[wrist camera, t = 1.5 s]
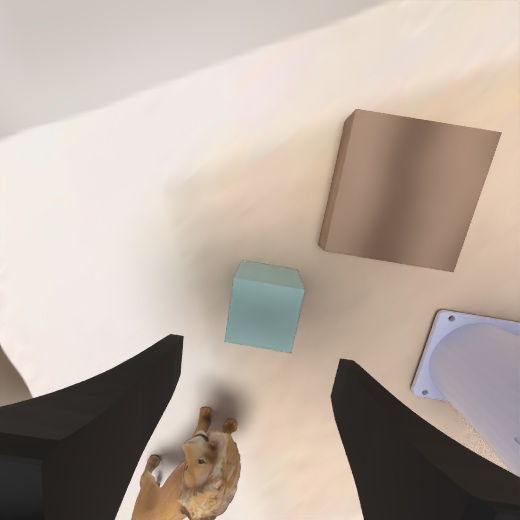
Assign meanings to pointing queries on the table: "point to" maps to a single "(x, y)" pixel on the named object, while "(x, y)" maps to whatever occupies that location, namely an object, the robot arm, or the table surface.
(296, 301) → the teal brick
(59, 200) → the table surface
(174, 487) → the lion figurine
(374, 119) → the walnut base block
